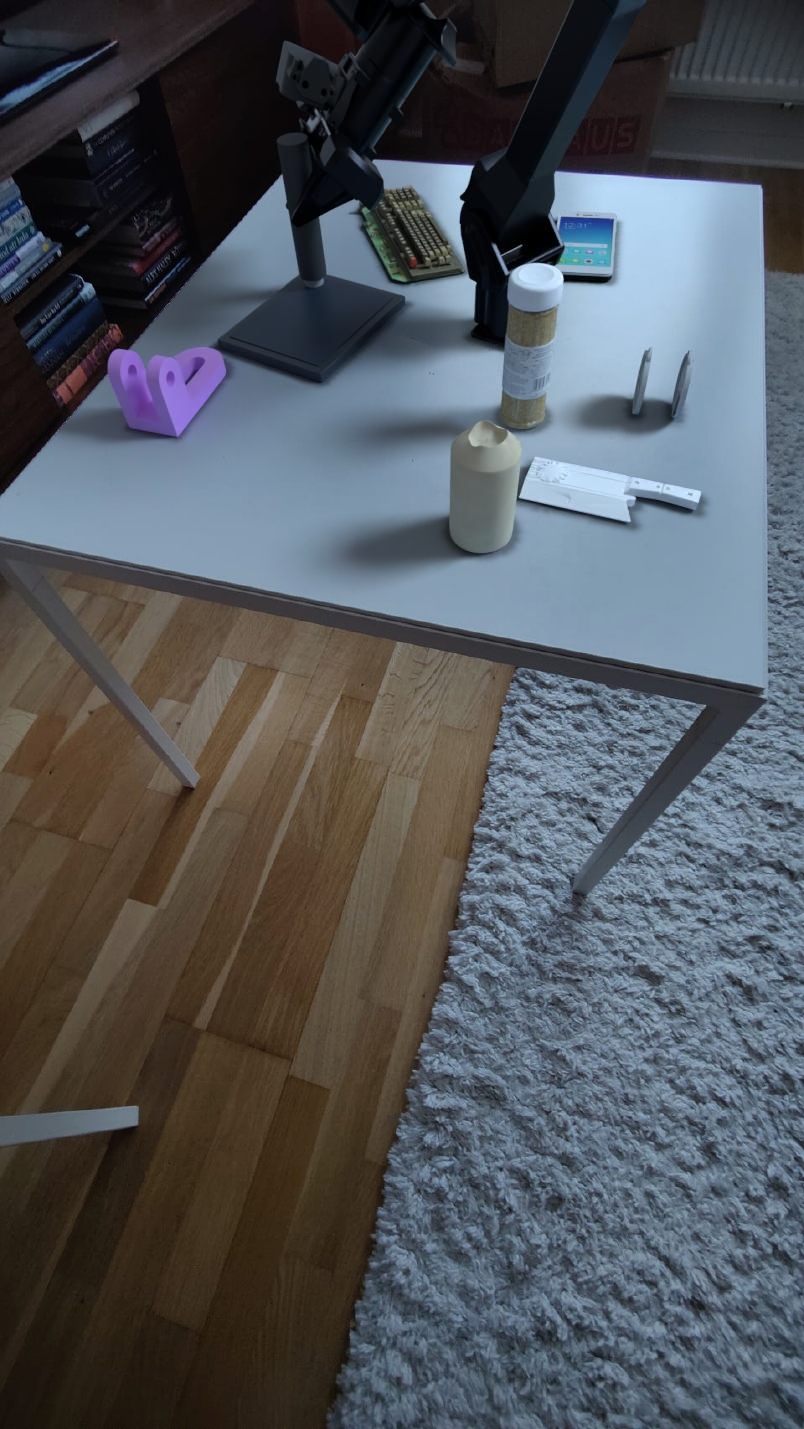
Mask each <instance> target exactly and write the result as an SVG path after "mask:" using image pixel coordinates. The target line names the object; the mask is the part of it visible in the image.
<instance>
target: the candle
mask: <svg viewBox="0 0 804 1429" xmlns="http://www.w3.org/2000/svg"><path fill="white" fill-rule="evenodd" d="M522 447H523V446H522V444H521V442H520V440H519V439H518V438H517V436H515V435H514V434H513V433H512V432H510V431H509V430H508V429H507V428H503V427H501V426H499V425H497V424H495V423H493V422H492V421H490V420H487V419H482V420H479V421H478V422H477V423H475V424H474V425H472V426H471V427H469V428H467V429H465V430H463V431H462V432H461V433H459V434H458V435H457V436H456V437H455V438H454V439H453V441H452V443H451V445H450V454H449V455H450V458H449V459H450V460H449V461H450V464H449V465H450V466H449V470H450V471H449V473H450V474H449V522H448V523H449V533H450V537H451V539H452V541H453V542H454V544H455V545H456V546H458V547H459V548H460V549H462V550H464V551H467V552H470V553H475V554H488V553H492V552H496V551H498V550H500V549H502V548H504V547H505V546H506V545H507V544H508V543H509V541H510V540H511V538H512V535H513V532H514V523H515V516H516V509H517V508H516V507H517V498H518V490H519V482H520V480H519V479H520V472H521V462H522V456H523V448H522Z"/></svg>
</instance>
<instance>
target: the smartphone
mask: <svg viewBox="0 0 804 1429" xmlns="http://www.w3.org/2000/svg"><path fill="white" fill-rule="evenodd" d="M617 220H618V215H617V213H615V212H602V211H601V212H600V211H599V212H597V211H576V210H575V211H574V210H561V211H559V212H558V216H557V222H556V226H557V229H558V231H559V233H560V236H561V238H562V240H563V243H564V245H565V249H564V252H563V254H562V256H561V259H560V261H559V263H558V264H557V265H555V266H554V267H556V268H557V269H559V270H560V271H561V273H562V275H563V280H578V281H595V282H596V281H598V282H609V281H611V280H612V278H613V273H614V264H615V262H614V261H615V248H616V237H617V222H618V221H617Z"/></svg>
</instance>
